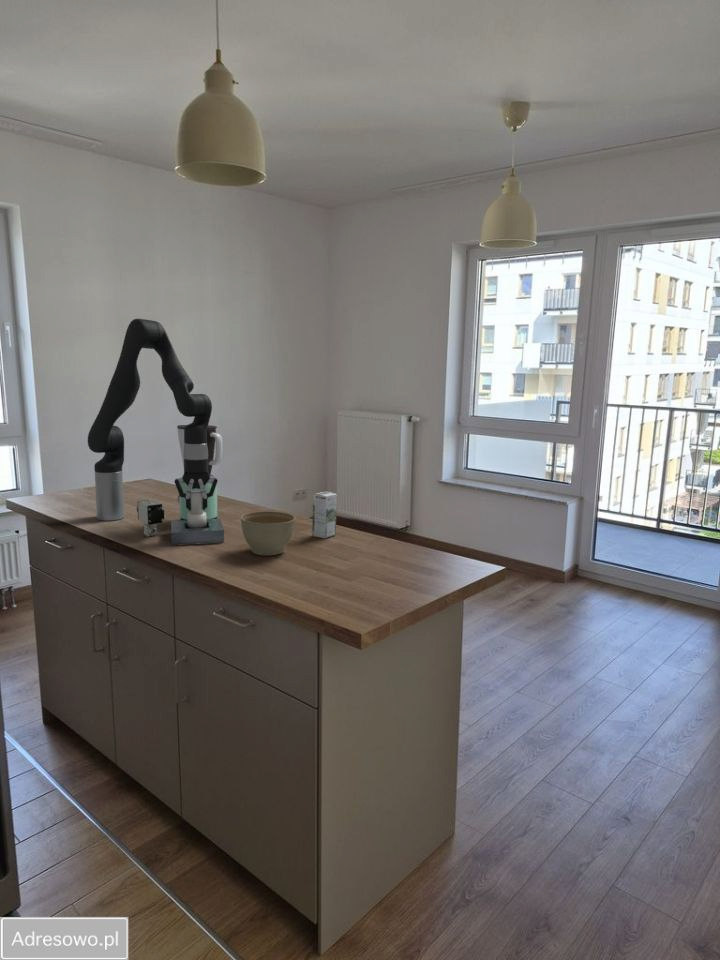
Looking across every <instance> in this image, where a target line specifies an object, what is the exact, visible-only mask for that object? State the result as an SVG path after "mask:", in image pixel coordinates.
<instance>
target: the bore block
mask: <svg viewBox="0 0 720 960" xmlns="http://www.w3.org/2000/svg"><path fill="white" fill-rule="evenodd" d="M170 526H171V527H170V528H171V529H170V531H171V532H170V535H171V536H170V537H171V539H170V540H171V546H181V545H180V544H187V545H198V544H197V543H206V544H222V543H221V542H224V543H225V529H224V526H223V523H222V520H221V518H217V519H207V525H206V526H205V527H199V528H193V527H188V524H187V520H171V521H170Z"/></svg>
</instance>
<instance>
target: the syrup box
mask: <svg viewBox="0 0 720 960" xmlns="http://www.w3.org/2000/svg"><path fill="white" fill-rule="evenodd" d="M312 497H313V499H312V529H311V531H312V532H311V536H312V537H315V538H316V537H317V538H322V539H327V538H331V537H334V536H336V534H337V533H336V530H337V528H336V527H337V505H338V504H337V501H338V500H337V499H338V498H337V497H338V495H337V493H334V492H331V491H321V492H317V493H316V492H315V493H313V496H312Z"/></svg>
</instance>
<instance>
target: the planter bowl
mask: <svg viewBox="0 0 720 960" xmlns="http://www.w3.org/2000/svg"><path fill="white" fill-rule="evenodd" d="M240 522H241V530H242V534H243V537H244V538H245V539H244V540H245V541H246V543H247V544H248V546H249V547H250V549H251V553H252V554H255V555H257V556H277V555H280V554H282V553H283V552H284V550H285V547H286V546H287V545H288V543H289V542H290V540H291V537H292V535H293V532H294V528H295V522H296V517H295V516H294V515H293V514H291V513H287V512H284V511H283V512H282V511H272V510H270V511H269V510H266V511H265V510H262V511H261V510H260V511H253V512H248V513H245V514H242V515H241V516H240Z"/></svg>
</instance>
